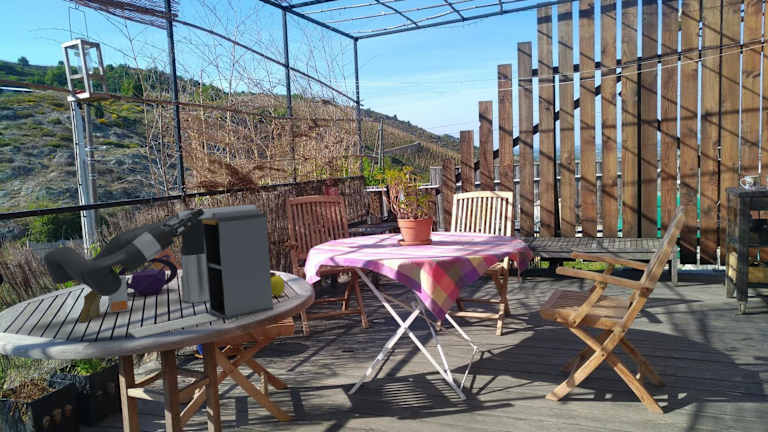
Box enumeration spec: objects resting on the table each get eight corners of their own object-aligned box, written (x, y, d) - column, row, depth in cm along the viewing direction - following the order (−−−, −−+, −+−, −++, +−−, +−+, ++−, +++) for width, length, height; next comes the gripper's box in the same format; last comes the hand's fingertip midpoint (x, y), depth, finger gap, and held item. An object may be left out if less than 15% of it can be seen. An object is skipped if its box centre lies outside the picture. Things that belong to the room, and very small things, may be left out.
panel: (183, 220, 165) (182, 212, 164) (179, 219, 168) (178, 211, 168) (256, 212, 180) (255, 205, 179) (250, 212, 183) (250, 205, 182)
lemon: (281, 298, 193) (280, 276, 193) (267, 298, 194) (265, 276, 194) (287, 295, 199) (285, 273, 198) (273, 295, 200) (271, 273, 199)
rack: (225, 319, 169) (216, 214, 166) (208, 312, 180) (199, 212, 177) (273, 308, 179) (265, 209, 176) (254, 302, 190) (247, 208, 187)
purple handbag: (180, 285, 228) (175, 226, 226) (178, 295, 208) (172, 231, 206) (122, 292, 221) (116, 231, 219) (114, 303, 201) (107, 236, 199)
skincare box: (109, 313, 185) (106, 279, 184) (109, 311, 189) (106, 277, 188) (129, 310, 188) (125, 276, 187) (128, 308, 192) (125, 275, 191)
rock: (87, 317, 173) (112, 305, 182) (72, 297, 174) (97, 287, 182) (74, 333, 178) (99, 321, 186) (59, 314, 178) (84, 303, 187)
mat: (136, 337, 155) (136, 336, 155) (128, 331, 162) (128, 330, 162) (217, 319, 170) (217, 318, 170) (206, 314, 177) (206, 313, 177)
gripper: (152, 234, 154) (200, 200, 162) (138, 231, 165) (183, 200, 174) (168, 254, 157) (214, 220, 165) (153, 250, 168) (197, 219, 177)
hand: (198, 210), depth 169 cm, fingers open, 6 cm apart
